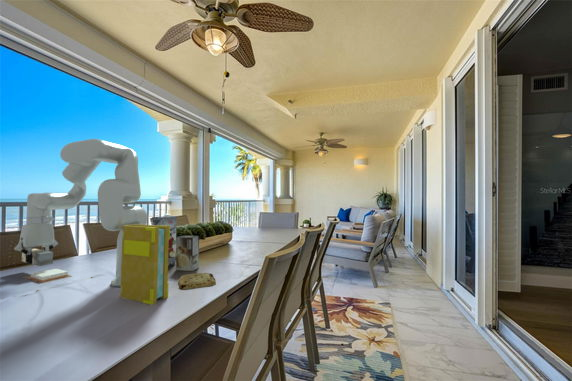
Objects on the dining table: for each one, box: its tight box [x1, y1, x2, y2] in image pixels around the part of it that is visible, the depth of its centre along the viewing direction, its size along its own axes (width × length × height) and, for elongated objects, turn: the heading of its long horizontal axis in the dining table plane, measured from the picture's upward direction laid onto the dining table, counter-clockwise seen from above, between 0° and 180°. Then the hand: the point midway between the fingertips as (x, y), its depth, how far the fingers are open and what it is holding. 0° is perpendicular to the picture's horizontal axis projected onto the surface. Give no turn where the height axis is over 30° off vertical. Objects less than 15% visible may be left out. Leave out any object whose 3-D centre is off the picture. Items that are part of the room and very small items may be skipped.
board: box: [21, 274, 73, 284], centre depth 100 cm, size 18×10×2 cm, turn 65°
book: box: [119, 224, 170, 306], centre depth 84 cm, size 17×7×25 cm, turn 71°
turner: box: [21, 248, 54, 267], centre depth 105 cm, size 18×4×5 cm, turn 65°
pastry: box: [178, 272, 217, 290], centre depth 99 cm, size 17×17×3 cm
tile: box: [30, 268, 69, 282], centre depth 99 cm, size 2×8×10 cm
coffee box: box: [175, 235, 200, 272], centre depth 118 cm, size 9×6×16 cm
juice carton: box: [151, 213, 178, 268], centre depth 123 cm, size 9×10×27 cm
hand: (36, 261), depth 105 cm, fingers closed on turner, 4 cm apart
